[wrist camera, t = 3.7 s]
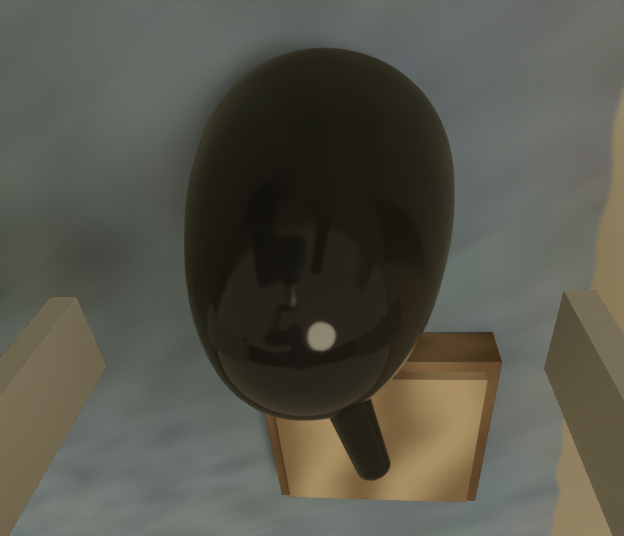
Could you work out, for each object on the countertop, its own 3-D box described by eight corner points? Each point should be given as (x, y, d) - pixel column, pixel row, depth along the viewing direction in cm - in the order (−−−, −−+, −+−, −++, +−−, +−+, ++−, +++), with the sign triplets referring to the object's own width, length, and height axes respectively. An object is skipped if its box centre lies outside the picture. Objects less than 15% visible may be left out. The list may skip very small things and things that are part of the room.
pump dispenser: (284, 262, 28) (224, 538, 16) (181, 89, 23) (-28, 297, 11) (465, 199, 25) (569, 482, 13) (394, -18, 20) (451, 100, 7)
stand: (285, 465, 39) (280, 502, 37) (261, 333, 31) (253, 369, 29) (469, 470, 38) (476, 508, 35) (492, 332, 30) (504, 370, 27)
